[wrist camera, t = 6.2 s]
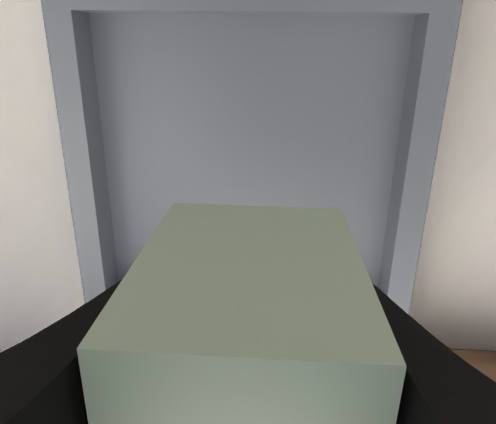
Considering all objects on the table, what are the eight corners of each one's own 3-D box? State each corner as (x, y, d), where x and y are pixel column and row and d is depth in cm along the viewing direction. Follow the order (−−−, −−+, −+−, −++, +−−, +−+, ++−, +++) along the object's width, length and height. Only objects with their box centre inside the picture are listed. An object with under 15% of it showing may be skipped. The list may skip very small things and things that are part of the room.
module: (179, 340, 13) (109, 557, 8) (172, 202, 11) (76, 348, 6) (326, 348, 13) (367, 576, 7) (341, 208, 11) (407, 366, 6)
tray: (104, 303, 21) (88, 327, 19) (65, -15, 16) (37, -24, 14) (392, 315, 20) (403, 342, 18) (443, -13, 15) (466, -22, 14)
